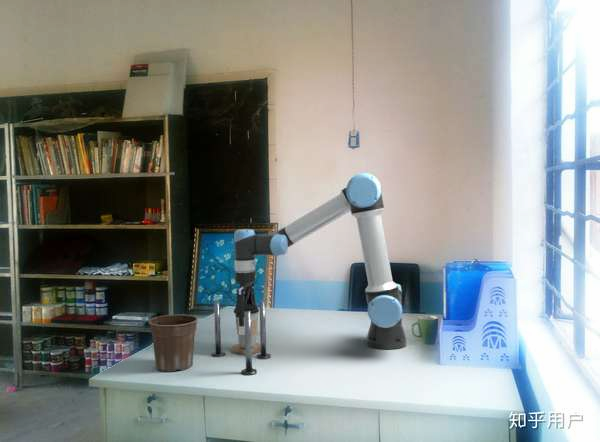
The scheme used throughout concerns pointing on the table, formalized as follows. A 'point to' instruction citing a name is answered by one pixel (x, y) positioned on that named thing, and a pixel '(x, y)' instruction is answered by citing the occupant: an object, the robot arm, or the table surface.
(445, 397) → the table surface
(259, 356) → the pole corner
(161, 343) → the plant pot
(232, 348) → the coaster
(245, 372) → the pole outer
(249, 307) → the coffee cup
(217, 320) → the pole far
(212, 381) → the table surface
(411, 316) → the table surface
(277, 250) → the robot arm
